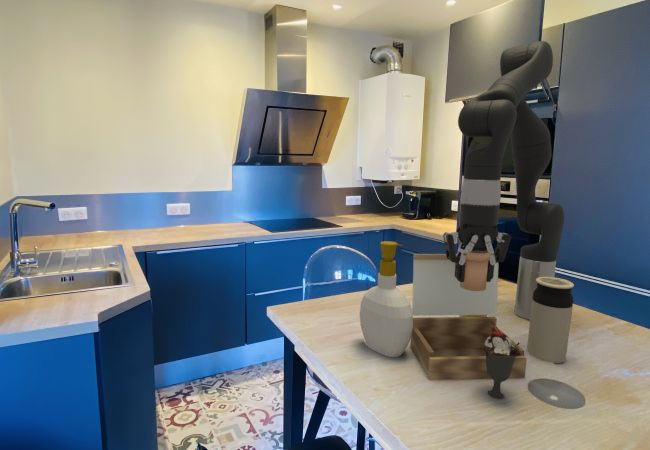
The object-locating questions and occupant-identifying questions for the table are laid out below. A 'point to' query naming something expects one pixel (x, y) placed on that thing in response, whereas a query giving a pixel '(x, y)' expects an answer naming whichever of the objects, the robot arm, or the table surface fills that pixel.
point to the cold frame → (456, 347)
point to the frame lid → (448, 289)
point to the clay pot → (476, 270)
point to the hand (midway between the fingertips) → (473, 280)
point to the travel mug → (550, 319)
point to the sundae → (499, 359)
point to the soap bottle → (386, 310)
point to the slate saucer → (556, 393)
